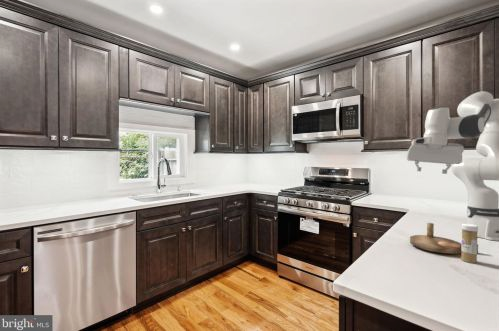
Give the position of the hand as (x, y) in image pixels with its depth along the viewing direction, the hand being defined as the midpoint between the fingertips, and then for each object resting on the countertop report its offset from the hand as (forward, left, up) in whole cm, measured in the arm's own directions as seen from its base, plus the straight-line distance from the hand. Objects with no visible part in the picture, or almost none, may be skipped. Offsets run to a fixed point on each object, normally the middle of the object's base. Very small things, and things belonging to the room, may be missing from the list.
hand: (431, 172), depth 112 cm
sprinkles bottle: (-7, +20, -32) cm, 38 cm away
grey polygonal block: (-12, +8, -32) cm, 35 cm away
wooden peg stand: (0, +8, -32) cm, 33 cm away
